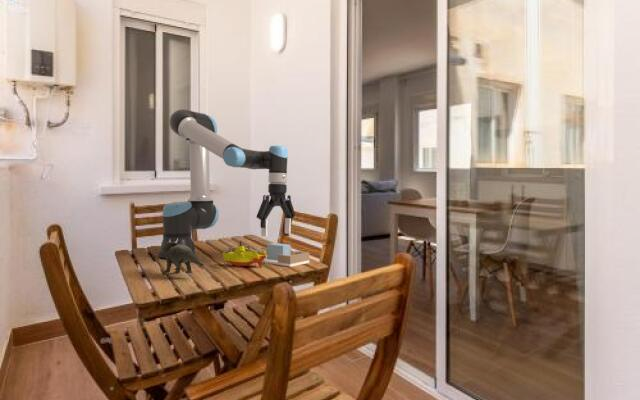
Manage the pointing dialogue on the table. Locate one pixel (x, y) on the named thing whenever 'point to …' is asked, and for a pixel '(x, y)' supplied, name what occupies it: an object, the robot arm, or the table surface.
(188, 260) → the dinosaur figurine
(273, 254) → the block
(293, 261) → the jig
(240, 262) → the toy boat
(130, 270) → the table surface
